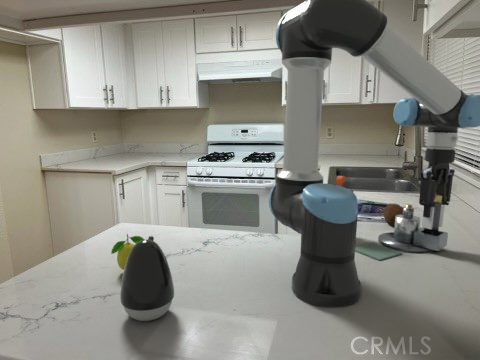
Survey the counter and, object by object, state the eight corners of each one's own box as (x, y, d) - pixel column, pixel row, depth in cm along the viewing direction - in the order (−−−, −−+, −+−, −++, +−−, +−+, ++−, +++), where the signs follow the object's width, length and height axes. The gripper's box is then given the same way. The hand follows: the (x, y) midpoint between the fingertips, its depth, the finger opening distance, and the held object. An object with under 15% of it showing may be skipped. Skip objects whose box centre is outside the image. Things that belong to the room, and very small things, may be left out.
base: (413, 256, 101) (414, 253, 101) (367, 240, 114) (367, 237, 114) (445, 246, 109) (446, 243, 109) (398, 232, 123) (399, 229, 122)
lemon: (147, 268, 92) (146, 231, 91) (135, 278, 87) (133, 238, 85) (125, 265, 94) (123, 228, 93) (111, 274, 89) (109, 235, 87)
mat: (379, 260, 98) (379, 259, 98) (350, 249, 106) (350, 248, 106) (402, 253, 103) (402, 252, 103) (373, 243, 111) (373, 242, 111)
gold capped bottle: (432, 243, 104) (437, 196, 102) (420, 240, 107) (424, 194, 105) (439, 242, 106) (445, 195, 104) (427, 238, 109) (432, 193, 107)
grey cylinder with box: (438, 251, 101) (441, 213, 100) (389, 239, 112) (392, 204, 110) (446, 245, 106) (450, 209, 104) (399, 234, 116) (402, 201, 114)
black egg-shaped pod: (178, 300, 76) (176, 231, 74) (170, 328, 66) (167, 249, 63) (129, 300, 76) (126, 231, 73) (114, 329, 66) (109, 250, 63)
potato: (391, 221, 137) (393, 200, 135) (412, 228, 128) (414, 206, 126) (376, 223, 134) (378, 202, 132) (397, 230, 125) (399, 208, 123)
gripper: (435, 149, 95) (426, 234, 99) (470, 148, 104) (461, 226, 108) (409, 147, 101) (402, 227, 105) (444, 146, 111) (436, 220, 114)
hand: (432, 226), depth 106 cm, fingers open, 4 cm apart
